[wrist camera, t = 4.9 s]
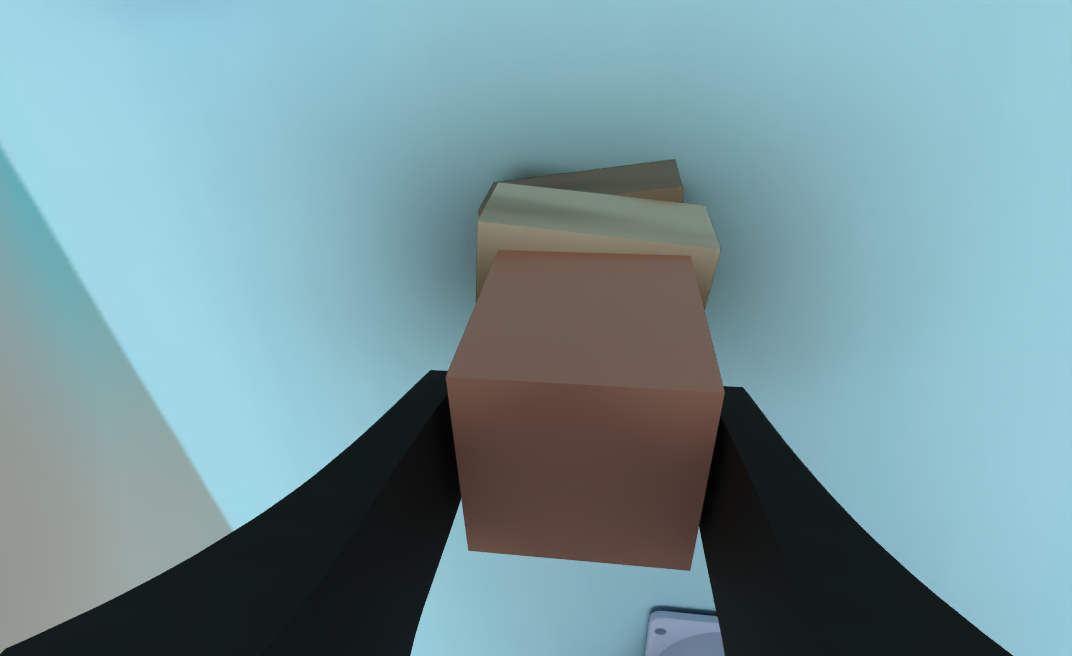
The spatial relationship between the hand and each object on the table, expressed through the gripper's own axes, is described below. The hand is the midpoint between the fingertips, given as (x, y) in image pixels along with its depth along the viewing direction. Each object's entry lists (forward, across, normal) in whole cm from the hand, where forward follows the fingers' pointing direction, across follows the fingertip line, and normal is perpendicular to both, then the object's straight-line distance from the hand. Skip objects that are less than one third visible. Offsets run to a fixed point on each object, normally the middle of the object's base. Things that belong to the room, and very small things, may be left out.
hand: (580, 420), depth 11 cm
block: (+3, 0, 0) cm, 3 cm away
